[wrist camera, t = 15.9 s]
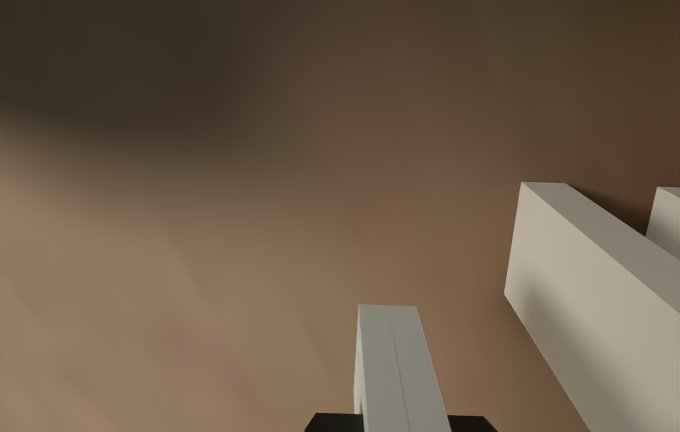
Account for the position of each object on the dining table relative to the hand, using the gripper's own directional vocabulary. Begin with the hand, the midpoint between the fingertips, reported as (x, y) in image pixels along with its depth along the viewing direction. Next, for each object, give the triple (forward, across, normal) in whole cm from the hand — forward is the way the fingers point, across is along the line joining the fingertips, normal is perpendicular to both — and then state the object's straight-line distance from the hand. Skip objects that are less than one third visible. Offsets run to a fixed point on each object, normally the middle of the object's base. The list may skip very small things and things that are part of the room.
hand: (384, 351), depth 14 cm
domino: (+9, +7, 0) cm, 11 cm away
